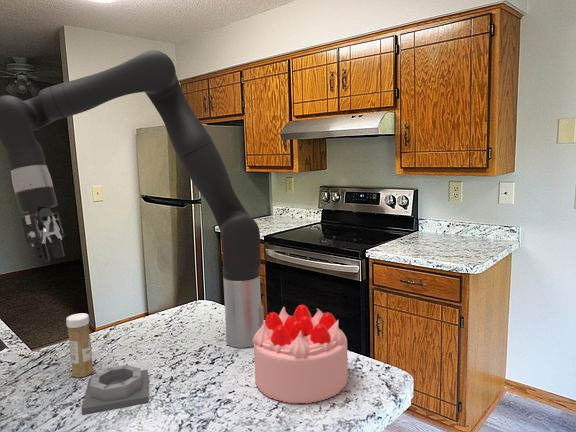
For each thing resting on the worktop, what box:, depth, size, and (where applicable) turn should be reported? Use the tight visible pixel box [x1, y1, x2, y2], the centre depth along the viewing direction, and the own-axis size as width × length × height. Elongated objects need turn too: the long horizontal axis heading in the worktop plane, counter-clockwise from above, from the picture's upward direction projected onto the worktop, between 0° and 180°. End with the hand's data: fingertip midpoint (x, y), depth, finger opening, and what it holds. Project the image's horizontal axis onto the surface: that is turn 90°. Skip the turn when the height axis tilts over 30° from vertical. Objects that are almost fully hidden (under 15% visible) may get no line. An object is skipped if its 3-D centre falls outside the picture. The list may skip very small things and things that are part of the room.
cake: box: [253, 304, 349, 404], centre depth 95 cm, size 20×20×14 cm
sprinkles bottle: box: [65, 312, 95, 378], centre depth 100 cm, size 5×5×14 cm
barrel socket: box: [80, 364, 149, 415], centre depth 92 cm, size 12×12×4 cm
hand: (52, 259), depth 100 cm, fingers open, 8 cm apart
